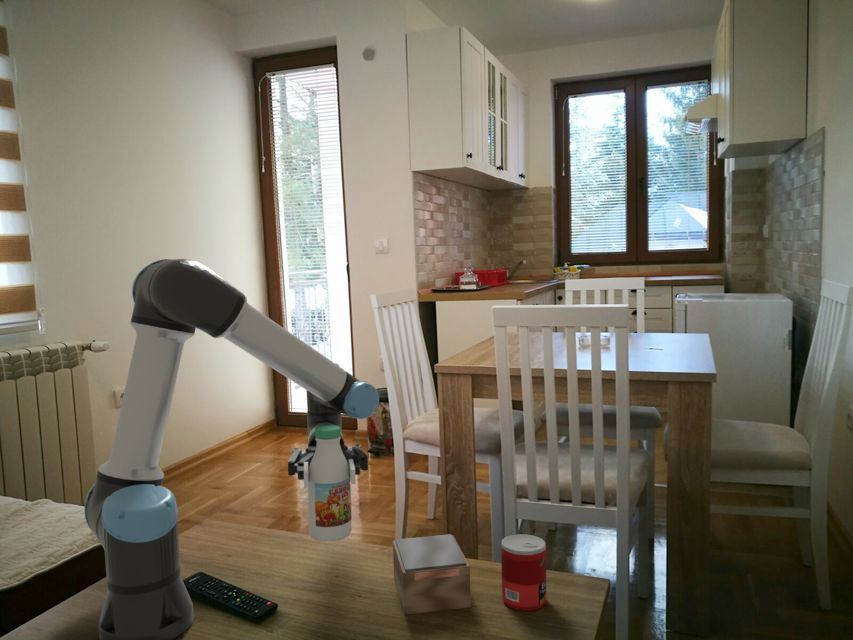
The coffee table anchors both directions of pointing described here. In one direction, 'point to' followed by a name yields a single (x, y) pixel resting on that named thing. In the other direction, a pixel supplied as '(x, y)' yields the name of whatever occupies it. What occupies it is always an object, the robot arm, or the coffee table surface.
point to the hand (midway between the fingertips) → (329, 478)
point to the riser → (431, 574)
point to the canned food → (523, 572)
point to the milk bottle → (329, 488)
